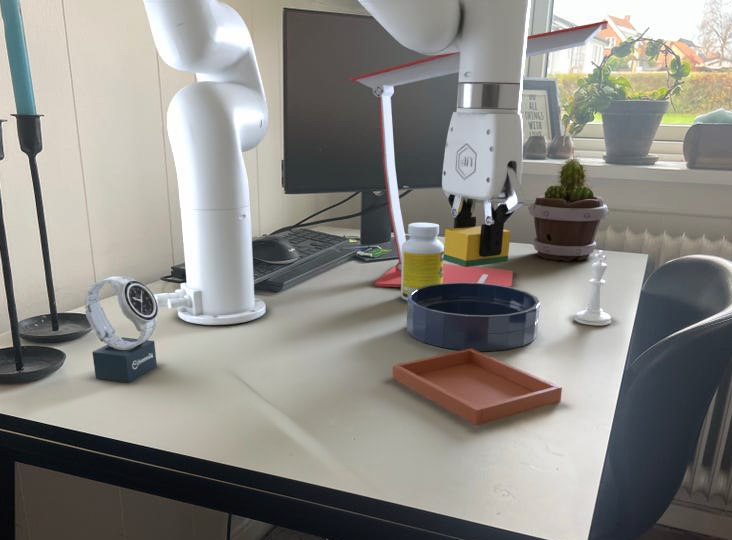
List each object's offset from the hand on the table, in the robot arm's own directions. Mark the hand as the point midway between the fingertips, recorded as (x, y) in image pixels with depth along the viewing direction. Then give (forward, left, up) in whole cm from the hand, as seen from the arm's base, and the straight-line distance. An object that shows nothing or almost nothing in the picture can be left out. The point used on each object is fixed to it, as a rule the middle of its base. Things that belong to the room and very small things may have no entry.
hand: (476, 250), depth 91 cm
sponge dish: (-13, -16, -11) cm, 24 cm away
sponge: (0, 0, -1) cm, 1 cm away
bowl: (0, 0, -11) cm, 11 cm away
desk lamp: (+18, +24, -12) cm, 32 cm away
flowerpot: (+49, +30, -11) cm, 58 cm away
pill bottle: (+5, +18, -11) cm, 22 cm away
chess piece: (+19, -4, -11) cm, 22 cm away
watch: (-43, +9, -11) cm, 46 cm away
